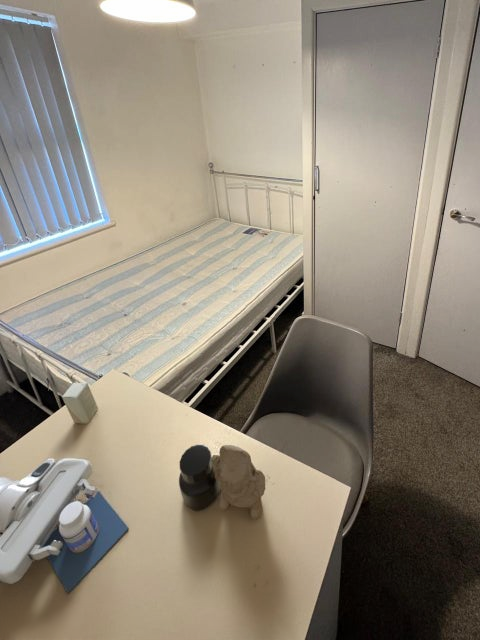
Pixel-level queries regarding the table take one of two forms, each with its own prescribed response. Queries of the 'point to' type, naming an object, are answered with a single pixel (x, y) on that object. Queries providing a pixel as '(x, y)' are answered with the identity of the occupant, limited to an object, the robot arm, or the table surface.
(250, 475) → the figurine
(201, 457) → the ink bottle
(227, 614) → the table surface
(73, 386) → the box
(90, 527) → the pill bottle
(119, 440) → the table surface
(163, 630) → the table surface
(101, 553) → the mat
